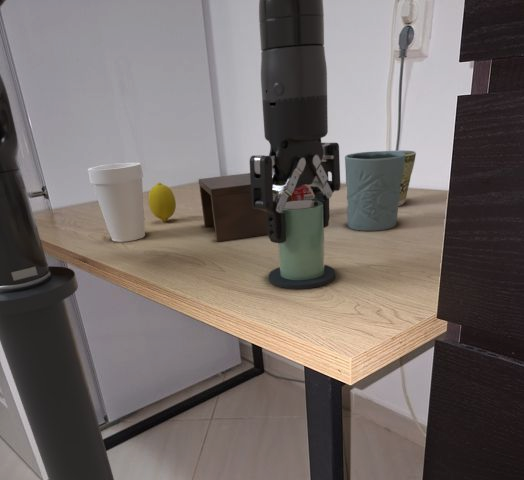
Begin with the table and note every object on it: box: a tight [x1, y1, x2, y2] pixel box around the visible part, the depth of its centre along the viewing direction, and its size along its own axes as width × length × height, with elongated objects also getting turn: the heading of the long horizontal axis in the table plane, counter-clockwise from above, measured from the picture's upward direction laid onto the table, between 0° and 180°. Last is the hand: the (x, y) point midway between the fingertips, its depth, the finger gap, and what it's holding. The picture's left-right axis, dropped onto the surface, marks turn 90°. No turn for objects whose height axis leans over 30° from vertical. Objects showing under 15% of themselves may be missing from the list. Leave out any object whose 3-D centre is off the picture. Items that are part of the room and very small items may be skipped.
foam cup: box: [87, 161, 146, 243], centre depth 93 cm, size 10×9×13 cm
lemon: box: [148, 182, 177, 223], centre depth 104 cm, size 6×6×8 cm
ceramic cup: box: [393, 149, 417, 207], centre depth 104 cm, size 13×10×10 cm
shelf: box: [198, 172, 291, 243], centre depth 93 cm, size 14×14×9 cm
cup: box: [277, 200, 325, 280], centre depth 65 cm, size 6×6×9 cm
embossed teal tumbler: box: [344, 150, 406, 232], centre depth 87 cm, size 10×10×12 cm
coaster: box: [268, 264, 337, 290], centre depth 67 cm, size 9×9×1 cm
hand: (300, 234), depth 65 cm, fingers open, 8 cm apart
